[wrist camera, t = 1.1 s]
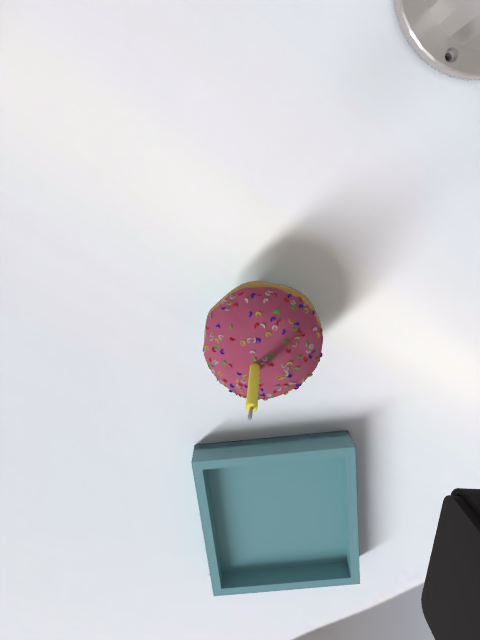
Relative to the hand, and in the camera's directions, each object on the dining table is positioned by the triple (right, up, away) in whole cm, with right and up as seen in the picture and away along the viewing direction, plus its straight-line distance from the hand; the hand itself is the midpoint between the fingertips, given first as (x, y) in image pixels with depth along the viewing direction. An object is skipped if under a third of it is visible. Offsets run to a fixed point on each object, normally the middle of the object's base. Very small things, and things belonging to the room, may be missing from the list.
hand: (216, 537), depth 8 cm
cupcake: (+2, +4, +25) cm, 25 cm away
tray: (+4, -13, +30) cm, 33 cm away
